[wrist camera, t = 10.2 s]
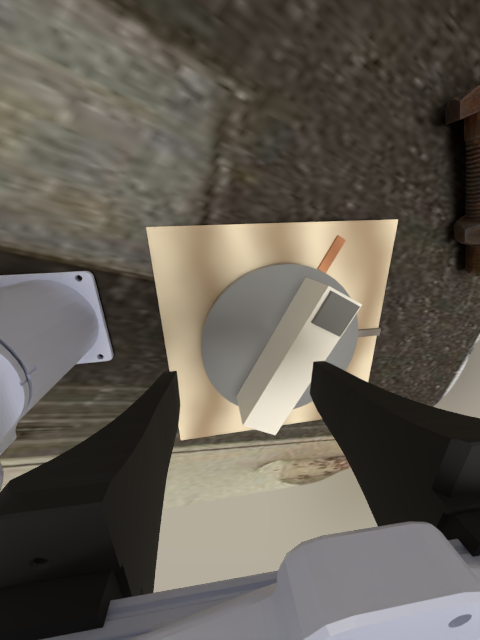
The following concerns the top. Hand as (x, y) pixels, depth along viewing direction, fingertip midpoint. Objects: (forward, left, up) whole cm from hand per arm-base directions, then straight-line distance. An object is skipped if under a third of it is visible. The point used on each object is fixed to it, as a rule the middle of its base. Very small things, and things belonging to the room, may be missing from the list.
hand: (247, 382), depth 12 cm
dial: (+4, -2, -8) cm, 9 cm away
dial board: (+4, -2, -10) cm, 11 cm away
